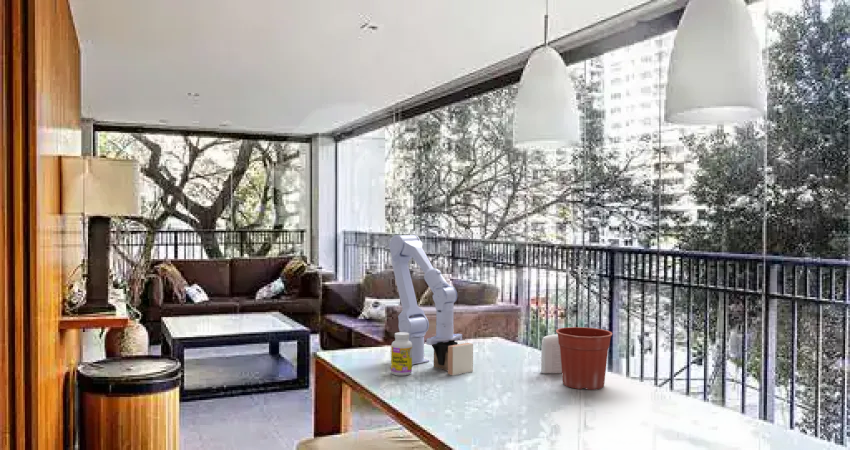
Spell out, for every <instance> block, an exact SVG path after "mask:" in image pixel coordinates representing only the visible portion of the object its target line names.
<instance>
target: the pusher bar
mask: <svg viewBox="0 0 850 450" xmlns="http://www.w3.org/2000/svg"><path fill="white" fill-rule="evenodd" d="M433 368H437V369H440V370H444V371H448V351H446V353H445V363H444V365H439V364H438V360H437V356H436V353H435V351H434V350H433Z"/></svg>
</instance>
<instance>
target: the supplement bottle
mask: <svg viewBox="0 0 850 450" xmlns="http://www.w3.org/2000/svg"><path fill="white" fill-rule="evenodd" d="M394 339H395V340H394V341H392V342H391V346H390V347H391V348H390V349H391V350H390V373H391V374H392V375H394V376H400V377H404V376H409V375H411V374H412V371H413V364H412V343H411V342H410V341H409V333H406V332H400V331H399V332H395V333H394Z"/></svg>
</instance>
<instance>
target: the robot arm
mask: <svg viewBox="0 0 850 450" xmlns="http://www.w3.org/2000/svg"><path fill="white" fill-rule="evenodd" d="M388 248H389V252H390V256H391V259H390V260H391V266H392V270H393V275H394V278H395V282H396V283H395V284H396V288H397V291H398V296H399V300H400V303H401V309H402V310H401V312H400V313H399V314H398V315H397V318H398V326H397V327H398V331H399V332H406V333H409V341H410V342H411V343H412V365H417V364H422V363H427V362H430V360H429V359H426V358H425V336H426V334H427V332H428V330H429V327H430V323H429V319H428V318H427V316H426V314H425V311H424V309H422V308H421V307H419V305H418V302H417V297H416V292H415V288H414V284H413V280H412V276H411V271H410V268H409V261H410V260H411V259H413V260H414V261H415V262H416V264H417V265H418V267H419V268H420V270H421V271H422V272H423V273H424V274H423V279H424V281H425V282H426V284H427V286H428V287H429V289H430V290H431V292H432V293H433V294H432V300H433V302H434V308H435V310H436V311H435V313H436V315H435V316H436V317H435V318H436V320H435V322H436V323H435V324H436V326H435V329H436V330H435V335H434V336H432V337H428V338H426V345H428V346H431V347H432V349H433V352H434V351H435V353H436V356H437V360H438V364H439V365H444V363H445V353H446V351H448V346H451V345H457V344H459V343H458V341H463V334H462V333H454V320H455V319H454V311H455V310H454V309H455V308H454V307H455V302H457V299H458V292H457V288H456V287H455V286H453V285H450V283H448V282H447V281H446V279H445V277H444V276H443V274H442V271H441V270H440V269H438V268H434V266H433V265H432V263H431V261H430V260H429V258H428V256H427V254H426V252H425V251H424V249H423V242H422V241H421V239H420V237H419V236H418V235H417V234H403V235H402V234H395V235H393V236H392V237H391V239H390V241H389V244H388Z"/></svg>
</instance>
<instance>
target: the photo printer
mask: <svg viewBox="0 0 850 450" xmlns="http://www.w3.org/2000/svg"><path fill="white" fill-rule="evenodd" d="M540 361H541V362H540V372H541V373H542V374H562V366H561V353H560V345H559V342H558V334H557V333H556V334H549V335H546V336H543V337H542V338H541V357H540Z"/></svg>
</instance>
